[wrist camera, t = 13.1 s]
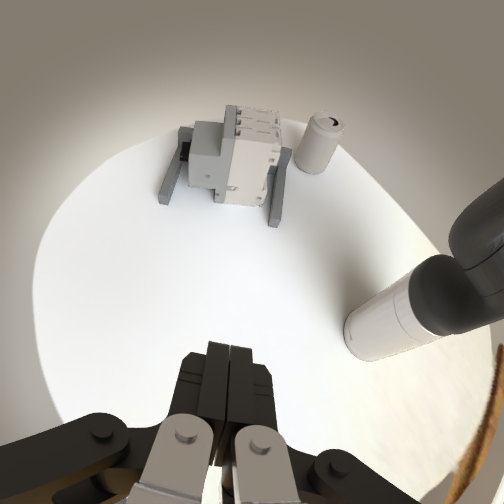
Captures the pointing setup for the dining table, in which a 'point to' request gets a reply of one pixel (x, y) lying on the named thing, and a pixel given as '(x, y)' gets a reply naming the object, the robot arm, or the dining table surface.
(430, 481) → the dining table surface
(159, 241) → the dining table surface
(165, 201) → the breaker bay
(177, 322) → the dining table surface
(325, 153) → the beverage can
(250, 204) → the circuit breaker
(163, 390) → the dining table surface
